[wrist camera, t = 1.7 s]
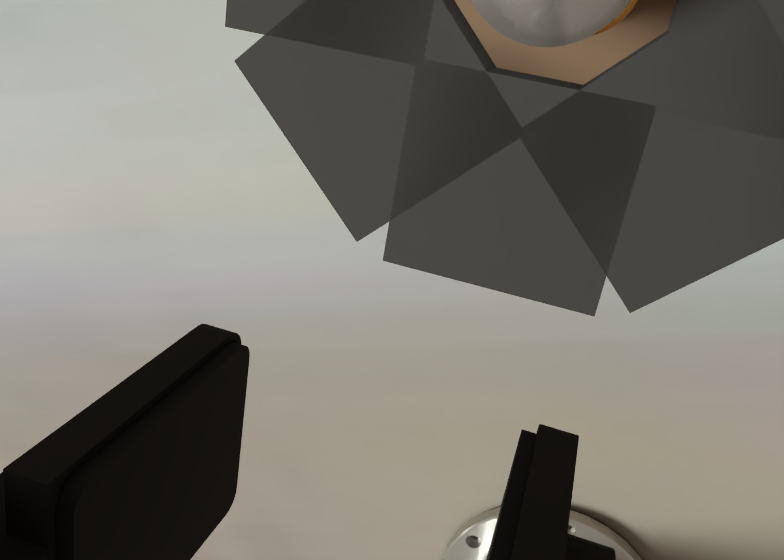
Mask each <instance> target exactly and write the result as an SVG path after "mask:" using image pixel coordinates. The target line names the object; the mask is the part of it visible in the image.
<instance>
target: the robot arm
mask: <svg viewBox="0 0 784 560" xmlns="http://www.w3.org/2000/svg"><path fill="white" fill-rule="evenodd" d="M248 366H249V348H248V347H247V346H244V345H241V339H240V336H239V335H238V334H237V333H234V332H230V331H227V330H224V329H220V328H217V327H214V326H210V325H207V324H201V325H199V326H197V327H196V328H194V329H193V330H192V331H190V332H189V333H188V334H186V335H185V336H184V337H182V338H181V339H179V340H178V341H177V342H175V343H174V344H173V345H171V346H170V347H169V348H167V349H166V350H165V351H163V352H162V353H160V354H159V355H158V356H156V357H155V358H154V359H152V360H151V361H150V362H148V363H147V364H145V365H144V366H143V367H141V368H140V369H139V370H137V371H136V372H135V373H133V374H132V375H131V376H129V377H128V378H126V379H125V380H124V381H122V382H121V383H120V384H118V385H117V386H116V387H114V388H113V389H111V390H110V391H109V392H107V393H106V394H105V395H103V396H102V397H101V398H99V399H98V400H96V401H95V402H94V403H92V404H91V405H90V406H88V407H87V408H86V409H84V410H83V411H82V412H80V413H79V414H77V415H76V416H75V417H73V418H72V419H71V420H69V421H68V422H67V423H65V424H64V425H62V426H61V427H60V428H58V429H57V430H56V431H54V432H53V433H52V434H50V435H49V436H48V437H46V438H45V439H43V440H42V441H41V442H39V443H38V444H37V445H35V446H34V447H33V448H31V449H30V450H28V451H27V452H26V453H24V454H23V455H22V456H20V457H19V458H18V459H16V460H15V461H14V462H12V463H11V464H9V465H8V466H7V467H5V468H4V469H3V472H2V473H1V474H0V560H190V559H191V558H192V557H193V555H194V554H195V553H196V552H197V550H198V549H199V548H200V547H201V545H202V544H203V543H204V542H205V540H206V539H207V538H208V537H209V535H210V534H211V533H212V532H213V530H214V529H215V528H216V527H217V525H218V524H219V523H220V522H221V520H222V519H223V518H224V517H225V515H226V514H227V512H228V511H229V509H230V507H231V505H232V503H233V500H234V497H235V494H236V489H237V479H238V469H239V459H240V449H241V438H242V428H243V418H244V408H245V397H246V387H247V377H248ZM578 438H579V436H578V435H575V434H572V433H568V432H565V431H562V430H558V429H555V428H551V427H548V426H545V425H541V424H540V425H539V427H538V431H537V434H535V433H532V432H529V431H525V430H522V431H521V435H520V438H519V442H518V446H517V449H516V453H515V457H514V460H513V464H512V468H511V471H510V475H509V479H508V482H507V486H506V490H505V493H504V497H503V501H502V504H501V507H498V508H495V509H492V510H489V511H486V512H484V513H482V514H480V515H478V516H476V517H475V518H473V519H471V520H469V521H468V522H467V523H466V524H465V525H464V526H462V527H461V528H460V529H459V530H458V531H457V532H456V534H455V535H454V536H453V538H452V539H451V541H450V542H449V544H448V545H447V548H446V551H445V553H444V556H443V558H442V560H642V559H641V558H640V556H639V555H638V554H637V553H636V552H635V551H634V550H633V548H632V547H631V546H630V545H629V544H628V543H627V542H626V541H625V540H624V539H623V538H621V537H620V536H619V535H617V534H616V533H615V532H613V531H612V530H611V529H610V528H608V527H607V526H605V525H603V524H601V523H599V522H598V521H596V520H594V519H592V518H590V517H588V516H586V515H583V514H580V513H578V512H575V511H572V510H570V508H571V499H572V490H573V482H574V473H575V465H576V456H577V448H578Z"/></svg>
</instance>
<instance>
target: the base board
mask: <svg viewBox="0 0 784 560" xmlns="http://www.w3.org/2000/svg"><path fill="white" fill-rule="evenodd" d="M675 1H676V0H638V1H637V2H636V4H635V6H634V7H633V9H632V10H631V11H630V12H629V14H628V15H627V16H626V17H625V18H624V19H623V20H622V21H621V22H619V23H618V24H617V25H615V26H614V27H612V28H610V29H609V30H607V31H604V32H602V33H600V34H596V35H593V36H589V37H587V38H585V39H583V40H580V41H578V42H575V43H572V44H568V45H564V46H557V47H536V46H529V45H526V44H522V43H519V42H516V41H514V40H511V39H509V38H507V37H506V36H504V35H502V34H501V33H499V32H498V31H497V30H495V29H494V28H493V27H492V26H490V25H489V23H488V22H487V21H486V20H485V19H484V18H483V17H482V16H481V14H480V13H479V11H478V10H477V9H476V7H475V5H474V3H473V2H472V0H455V2H456V4H457V5H458V7H459V8H460V10H461V12H462V13H463V15H464V16H465V18H466V20H467V21H468V23H469V24H470V26H471V28H472V29H473V31H474V32H475V34H476V36H477V37H478V39H479V40H480V42H481V43H482V45H483V47H484V48H485V50H486V51H487V53H488V55H489V56H490V58H491V59H492V61H493V63H494V64H495V66H496V67H497V68H502V69H507V70H512V71H517V72H522V73H527V74H532V75H537V76H542V77H547V78H552V79H557V80H562V81H567V82H572V83H577V84H582V85H584V84H585V83H587V82H588V81H590V80H591V79H593V78H595V77H596V76H598V75H599V74H601V73H602V72H604V71H605V70H607V69H608V68H610V67H612V66H613V65H615V64H616V63H618V62H619V61H621V60H622V59H624V58H626V57H627V56H629V55H630V54H632V53H633V52H635V51H636V50H638V49H639V48H641V47H643V46H644V45H646V44H647V43H649V42H650V41H652V40H653V39H655V38H656V37H658V36H660V35H661V34H663V33H664V32H666V31H667V29H668V25H669V22H670V18H671V15H672V11H673V8H674V4H675Z"/></svg>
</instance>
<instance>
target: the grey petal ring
mask: <svg viewBox="0 0 784 560" xmlns="http://www.w3.org/2000/svg"><path fill="white" fill-rule="evenodd" d="M225 27H230V28H235V29H240V30H245V31H249V32H254V33H259V34H264V36H263V37H262V38H261V39H259V40H258V41H257V42H256V43H255V44H254V45H252V46H251V47H250V48H249V49H248V50H247V51H245V52H244V53H243V54H242V55H241V56H240V57H238V58H237V59H236V60H235V63H236V64H237V66H238V67H239V69H240V70H241V71H242V73H243V74H244V76H245V77H246V79H247V80H248V82H249V83H250V85H251V86H252V88H253V89H254V91H255V92H256V94H257V95H258V97H259V98H260V100H261V101H262V102H263V104H264V105H265V107H266V108H267V110H268V111H269V113H270V114H271V116H272V117H273V119H274V120H275V122H276V123H277V125H278V126H279V128H280V129H281V131H282V132H283V134H284V135H285V136H286V138H287V139H288V141H289V142H290V144H291V145H292V147H293V148H294V150H295V151H296V153H297V154H298V156H299V157H300V159H301V160H302V162H303V163H304V165H305V166H306V167H307V169H308V170H309V172H310V173H311V175H312V176H313V178H314V179H315V181H316V182H317V184H318V185H319V187H320V188H321V190H322V191H323V193H324V194H325V196H326V197H327V199H328V200H329V201H330V203H331V204H332V206H333V207H334V209H335V210H336V212H337V213H338V215H339V216H340V218H341V219H342V221H343V222H344V224H345V225H346V227H347V228H348V230H349V231H350V232H351V234H352V235H353V237H354V238H355V240H356V241H359V240H361V239H362V238H364V237H365V236H367V235H368V234H370V233H372V232H373V231H375V230H376V229H378V228H379V227H381V226H383V225H384V224H386V223H387V222H389V227H388V233H387V239H386V245H385V251H384V257H383V261H387V262H390V263H394V264H398V265H402V266H405V267H409V268H413V269H417V270H421V271H424V272H428V273H432V274H436V275H440V276H443V277H447V278H451V279H455V280H459V281H462V282H466V283H470V284H474V285H477V286H481V287H485V288H489V289H493V290H496V291H500V292H504V293H508V294H512V295H515V296H519V297H523V298H527V299H531V300H534V301H538V302H542V303H546V304H549V305H553V306H557V307H561V308H565V309H568V310H572V311H576V312H580V313H584V314H587V315H591V316H595V312H596V309H597V306H598V302H599V299H600V296H601V292H602V289H603V285H604V282H605V279H606V276H607V277H608V279H609V280H610V282H611V284H612V285H613V287H614V288H615V290H616V292H617V293H618V295H619V296H620V298H621V299H622V301H623V303H624V304H625V306H626V307H627V309H628V311H629V312H630V313H631V312H633V311H635V310H637V309H639V308H641V307H643V306H645V305H648V304H650V303H652V302H654V301H656V300H658V299H660V298H662V297H664V296H666V295H668V294H670V293H672V292H674V291H676V290H678V289H680V288H683V287H685V286H687V285H689V284H691V283H693V282H695V281H697V280H699V279H701V278H703V277H705V276H707V275H709V274H711V273H713V272H716V271H718V270H720V269H722V268H724V267H726V266H728V265H730V264H732V263H734V262H736V261H738V260H740V259H742V258H744V257H746V256H748V255H751V254H753V253H755V252H757V251H759V250H761V249H763V248H765V247H767V246H769V245H771V244H773V243H775V242H777V241H779V240H781V239H783V238H784V0H676V1H675V4H674V8H673V11H672V15H671V18H670V22H669V25H668V29H667V31H666V32H664V33H663V34H661V35H660V36H658V37H656V38H655V39H653V40H652V41H650V42H649V43H647V44H646V45H644V46H643V47H641V48H639V49H638V50H636V51H635V52H633V53H632V54H630V55H629V56H627V57H626V58H624V59H622V60H621V61H619V62H618V63H616V64H615V65H613V66H612V67H610V68H608V69H607V70H605V71H604V72H602V73H601V74H599V75H598V76H596V77H595V78H593V79H591V80H590V81H588V82H587V83H585V84H584V85H582V84H577V83H572V82H567V81H562V80H557V79H552V78H547V77H542V76H537V75H532V74H527V73H522V72H517V71H512V70H507V69H502V68H497V67H496V66H495V64H494V63H493V61H492V59H491V58H490V56H489V55H488V53H487V51H486V50H485V48H484V47H483V45H482V43H481V42H480V40H479V39H478V37H477V36H476V34H475V32H474V31H473V29H472V28H471V26H470V24H469V23H468V21H467V20H466V18H465V16H464V15H463V13H462V12H461V10H460V8H459V7H458V5H457V4H456V2H455V0H227V7H226V22H225Z"/></svg>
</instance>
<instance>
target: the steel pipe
mask: <svg viewBox="0 0 784 560" xmlns="http://www.w3.org/2000/svg"><path fill="white" fill-rule="evenodd" d="M637 1H638V0H472V2H473V3H474V5H475V7H476V9H477V10H478V11H479V13H480V14H481V16H482V17H483V18H484V19H485V20H486V21H487V22H488V23H489V25H490V26H492V27H493V28H494V29H495V30H497V31H498V32H499V33H501V34H502V35H504V36H506V37H507V38H509V39H511V40H514V41H516V42H519V43H522V44H526V45H529V46H536V47H557V46H564V45H568V44H572V43H575V42H578V41H580V40H583V39H585V38H587V37H589V36H593V35H596V34H600V33H602V32H604V31H607V30H609V29H610V28H612V27H614V26H615V25H617V24H618V23H619V22H621V21H622V20H623V19H624V18H625V17H626V16H627V15H628V14H629V12H630V11H631V10H632V9H633V7H634V6H635V4H636V2H637Z"/></svg>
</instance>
